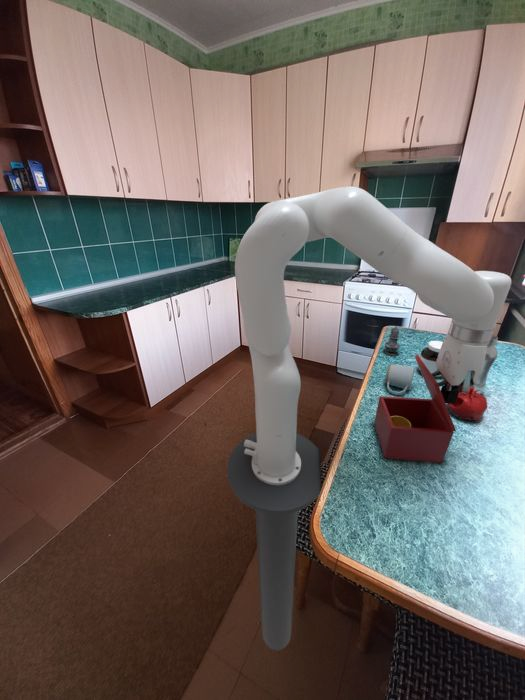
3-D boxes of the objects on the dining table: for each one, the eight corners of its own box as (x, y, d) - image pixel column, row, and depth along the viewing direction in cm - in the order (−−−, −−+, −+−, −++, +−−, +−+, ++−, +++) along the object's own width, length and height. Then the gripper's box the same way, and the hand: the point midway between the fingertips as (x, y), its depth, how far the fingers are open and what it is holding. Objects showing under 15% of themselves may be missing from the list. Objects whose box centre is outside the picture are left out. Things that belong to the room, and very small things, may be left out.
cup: (384, 443, 76) (388, 427, 73) (384, 429, 80) (388, 413, 78) (407, 448, 74) (411, 432, 71) (406, 434, 78) (410, 418, 76)
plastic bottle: (486, 398, 93) (509, 342, 83) (463, 396, 94) (483, 341, 84) (476, 386, 98) (497, 333, 89) (454, 385, 99) (473, 332, 90)
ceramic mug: (386, 376, 105) (390, 358, 101) (411, 382, 101) (416, 363, 97) (381, 392, 97) (385, 373, 93) (408, 399, 93) (413, 379, 89)
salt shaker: (399, 356, 118) (405, 329, 112) (383, 355, 119) (388, 328, 114) (397, 350, 123) (403, 324, 117) (382, 348, 124) (387, 322, 119)
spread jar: (418, 376, 104) (425, 348, 99) (413, 361, 114) (420, 334, 109) (455, 381, 101) (465, 352, 96) (447, 365, 111) (456, 338, 106)
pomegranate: (480, 407, 89) (491, 382, 84) (485, 428, 81) (496, 401, 77) (443, 398, 93) (451, 374, 89) (444, 417, 85) (453, 391, 81)
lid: (433, 384, 61) (459, 375, 59) (414, 355, 72) (435, 347, 71) (452, 431, 66) (476, 425, 64) (431, 398, 77) (451, 392, 75)
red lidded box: (384, 457, 72) (391, 428, 68) (374, 423, 84) (379, 396, 79) (442, 463, 71) (453, 432, 66) (424, 427, 82) (432, 399, 77)
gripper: (437, 318, 68) (419, 383, 77) (467, 346, 55) (442, 421, 64) (471, 319, 67) (449, 384, 76) (511, 348, 54) (479, 423, 63)
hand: (446, 401), depth 70 cm, fingers closed
